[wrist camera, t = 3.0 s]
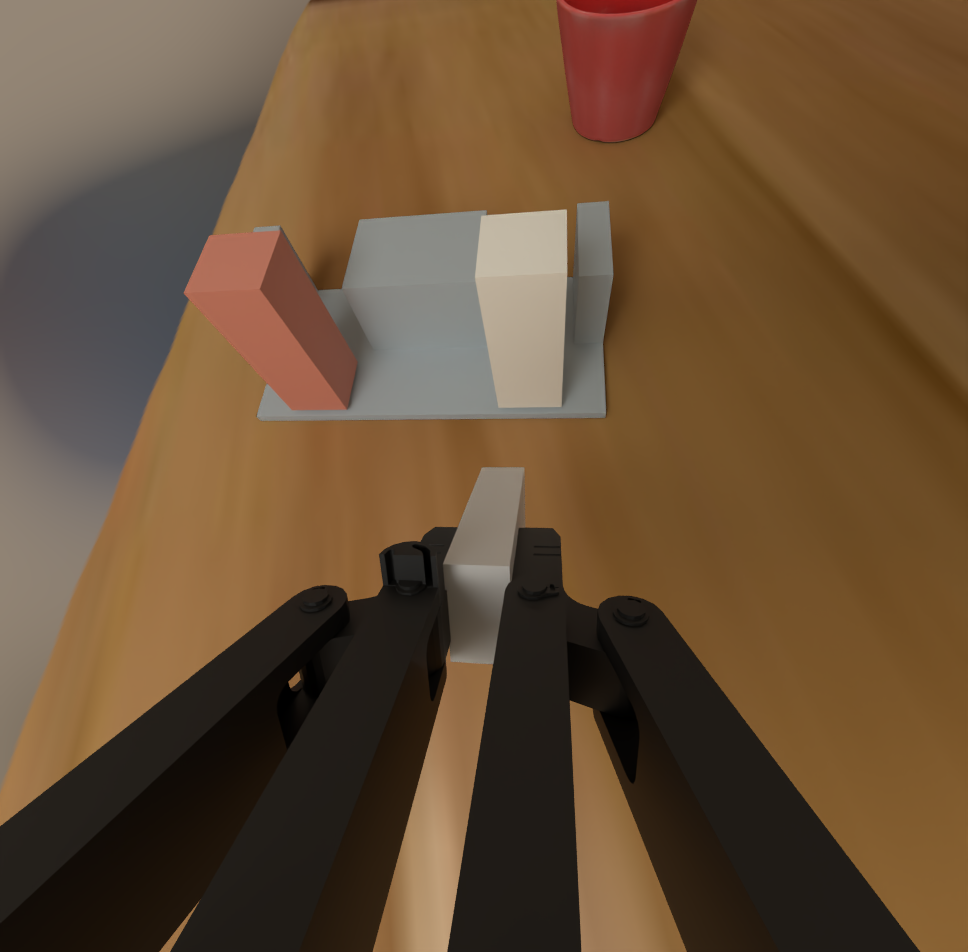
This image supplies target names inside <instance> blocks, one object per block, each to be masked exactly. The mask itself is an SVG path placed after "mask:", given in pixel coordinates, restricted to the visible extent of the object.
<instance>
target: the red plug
mask: <svg viewBox="0 0 968 952" xmlns="http://www.w3.org/2000/svg"><path fill="white" fill-rule="evenodd" d="M184 294H185V295H186V296H187V297H188V298H189V299H190V300H191V302H192V303H193V304H194V305H195V306H196V307H197V308H198V309H199V310H200V311H201V312H202V313H203V314H204V316H205V317H206V318H207V319H208V320H209V321H210V322H211V323H212V324H213V325H214V326H215V327H216V329H217V330H218V331H219V332H220V333H221V334H222V335H223V336H224V337H225V338H226V339H227V340H228V342H229V343H230V344H231V345H232V346H233V347H234V348H235V349H236V350H237V351H238V352H239V353H240V355H241V356H242V357H243V358H244V359H245V360H246V361H247V362H248V363H249V364H250V365H251V366H252V368H253V369H254V370H255V371H256V372H257V373H258V374H259V375H260V376H261V377H262V378H263V379H264V381H265V382H266V383H267V384H268V385H269V386H270V387H271V388H272V389H273V390H274V391H275V392H276V393H277V395H278V396H279V397H280V398H281V399H282V400H283V401H284V402H285V403H286V404H287V405H288V406H289V408H290V409H291V410H347V408H348V404H349V399H350V395H351V390H352V385H353V381H354V376H355V372H356V367H357V363H358V361H357V360H356V358H355V356H354V355H353V353H352V351H351V349H350V348H349V346H348V344H347V343H346V341H345V339H344V337H343V336H342V334H341V332H340V331H339V329H338V327H337V326H336V324H335V322H334V320H333V319H332V317H331V315H330V314H329V312H328V310H327V308H326V307H325V305H324V303H323V302H322V300H321V298H320V296H319V295H318V293H317V291H316V290H315V288H314V286H313V285H312V283H311V281H310V279H309V278H308V276H307V274H306V273H305V271H304V269H303V267H302V266H301V264H300V262H299V261H298V259H297V257H296V256H295V254H294V252H293V250H292V249H291V247H290V245H289V244H288V242H287V240H286V238H285V237H284V235H283V233H282V232H281V230H278V231H264V232H251V233H237V234H223V235H210V236H209V237H208V240H207V242H206V244H205V247H204V249H203V251H202V253H201V256H200V258H199V260H198V262H197V265H196V267H195V269H194V271H193V274H192V276H191V278H190V280H189V283H188V285H187V287H186V289H185V292H184Z"/></svg>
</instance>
